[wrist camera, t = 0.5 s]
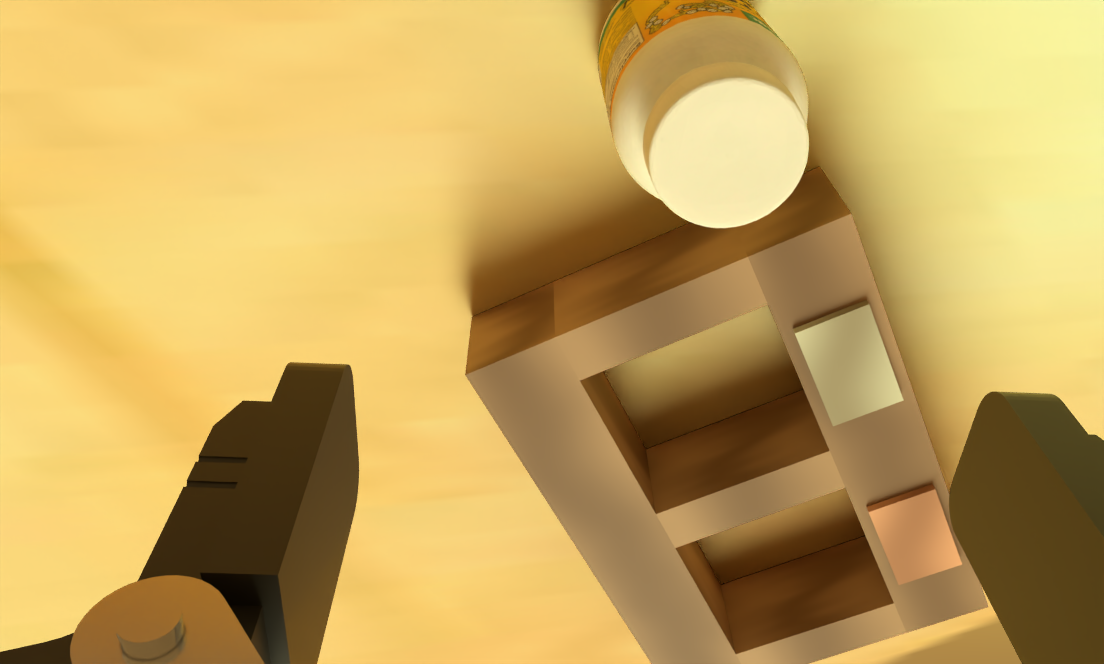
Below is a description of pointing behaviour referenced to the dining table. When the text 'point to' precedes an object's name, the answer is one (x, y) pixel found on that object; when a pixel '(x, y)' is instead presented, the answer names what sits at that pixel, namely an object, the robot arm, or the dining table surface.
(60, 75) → the dining table surface
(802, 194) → the socket block
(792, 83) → the supplement bottle
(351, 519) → the robot arm
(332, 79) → the dining table surface
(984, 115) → the dining table surface
